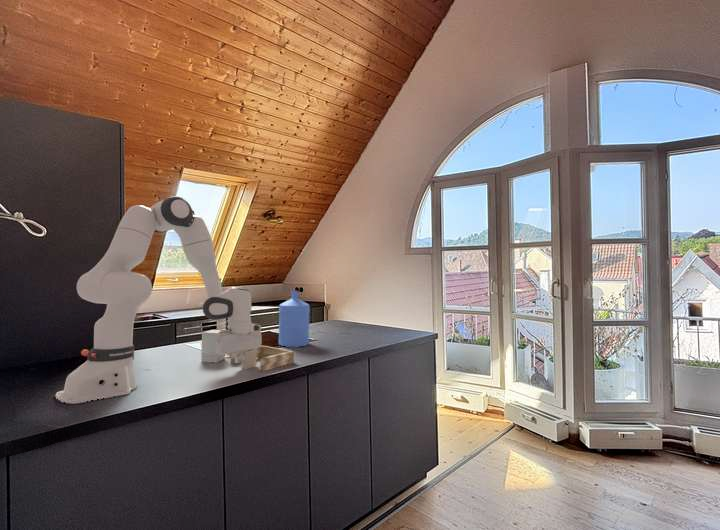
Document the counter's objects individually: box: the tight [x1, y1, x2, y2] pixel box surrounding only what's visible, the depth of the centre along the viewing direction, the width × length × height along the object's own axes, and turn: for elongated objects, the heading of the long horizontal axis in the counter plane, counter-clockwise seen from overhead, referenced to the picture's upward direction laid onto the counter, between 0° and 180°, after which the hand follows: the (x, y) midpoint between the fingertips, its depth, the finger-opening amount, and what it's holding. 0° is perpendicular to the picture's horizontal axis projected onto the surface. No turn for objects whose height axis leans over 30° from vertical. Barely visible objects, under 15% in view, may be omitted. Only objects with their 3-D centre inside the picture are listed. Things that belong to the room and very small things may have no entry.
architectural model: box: [241, 350, 259, 370], centre depth 171 cm, size 3×7×7 cm, turn 140°
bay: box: [230, 345, 295, 372], centre depth 177 cm, size 18×19×5 cm
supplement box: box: [200, 329, 226, 364], centre depth 181 cm, size 7×7×13 cm
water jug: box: [277, 290, 311, 348], centre depth 218 cm, size 16×16×28 cm
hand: (238, 362), depth 167 cm, fingers closed
